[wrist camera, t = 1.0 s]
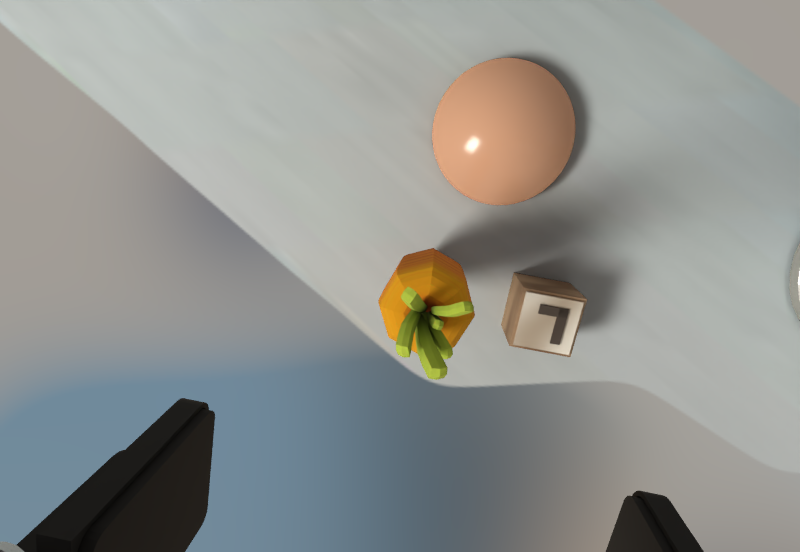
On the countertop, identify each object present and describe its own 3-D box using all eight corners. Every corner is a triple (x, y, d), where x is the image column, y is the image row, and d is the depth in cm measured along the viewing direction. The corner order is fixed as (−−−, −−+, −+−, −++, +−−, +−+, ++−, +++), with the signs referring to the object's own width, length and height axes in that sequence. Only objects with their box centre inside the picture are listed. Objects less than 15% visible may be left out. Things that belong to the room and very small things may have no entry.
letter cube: (569, 282, 33) (588, 301, 29) (555, 334, 34) (571, 359, 30) (513, 272, 34) (524, 289, 29) (501, 324, 35) (510, 347, 30)
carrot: (399, 225, 33) (370, 279, 19) (469, 234, 33) (495, 297, 19) (390, 292, 35) (357, 390, 20) (458, 301, 34) (474, 408, 20)
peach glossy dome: (586, 74, 30) (592, 71, 29) (550, 214, 32) (555, 216, 31) (446, 50, 30) (447, 46, 29) (421, 190, 33) (420, 192, 31)
